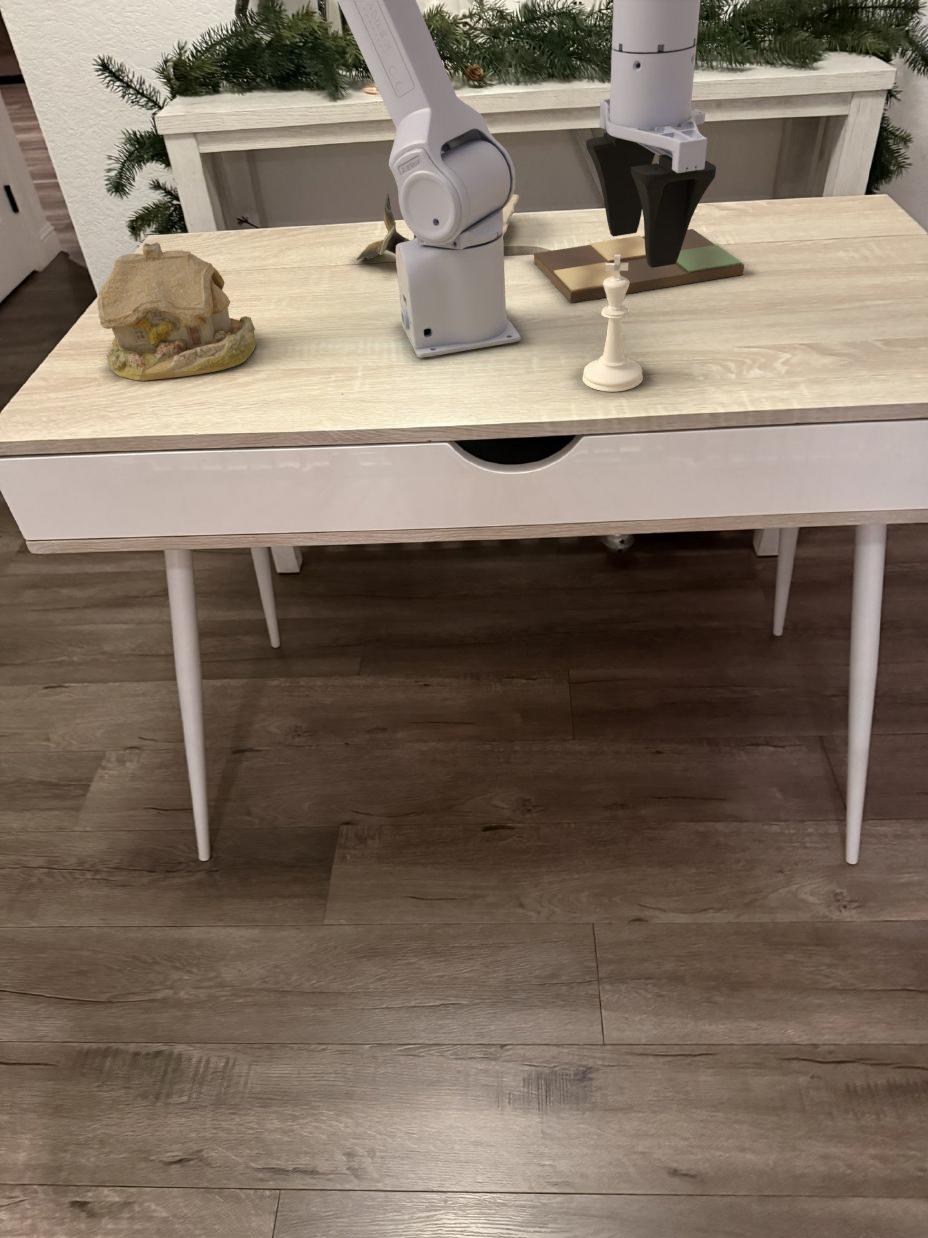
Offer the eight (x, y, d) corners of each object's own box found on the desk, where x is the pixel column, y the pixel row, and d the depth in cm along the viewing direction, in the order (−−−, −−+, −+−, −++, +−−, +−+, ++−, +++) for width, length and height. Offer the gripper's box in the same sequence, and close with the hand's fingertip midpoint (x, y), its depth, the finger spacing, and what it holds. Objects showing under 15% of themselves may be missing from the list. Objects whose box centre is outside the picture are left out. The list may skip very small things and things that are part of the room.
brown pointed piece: (453, 248, 99) (401, 216, 103) (427, 202, 93) (373, 170, 97) (407, 302, 99) (357, 268, 103) (377, 259, 93) (325, 225, 97)
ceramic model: (89, 383, 82) (48, 271, 75) (128, 332, 90) (95, 226, 84) (243, 376, 81) (216, 262, 74) (268, 325, 89) (246, 218, 83)
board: (570, 302, 88) (570, 290, 88) (533, 262, 97) (533, 251, 97) (743, 274, 91) (744, 262, 90) (691, 237, 100) (692, 226, 99)
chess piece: (583, 364, 78) (585, 244, 72) (642, 364, 77) (650, 243, 71) (581, 391, 74) (583, 267, 68) (642, 392, 74) (651, 266, 67)
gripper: (759, 55, 58) (732, 271, 67) (664, 25, 69) (652, 214, 78) (655, 68, 57) (642, 286, 66) (575, 36, 68) (573, 226, 77)
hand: (641, 248), depth 72 cm, fingers open, 7 cm apart
